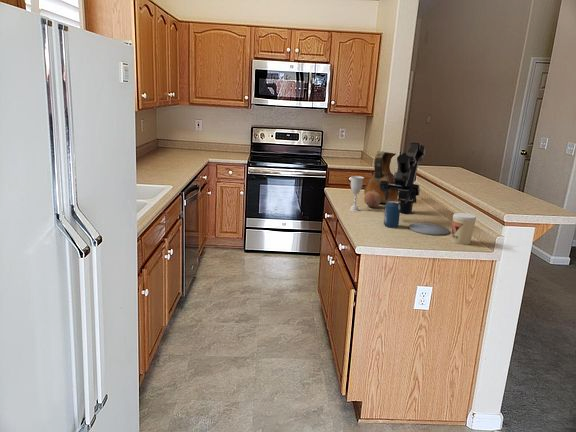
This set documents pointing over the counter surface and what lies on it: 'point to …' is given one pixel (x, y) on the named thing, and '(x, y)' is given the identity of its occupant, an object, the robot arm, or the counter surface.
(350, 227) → the counter surface
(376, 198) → the onion
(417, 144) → the robot arm
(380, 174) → the ceramic pitcher
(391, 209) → the soda can
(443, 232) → the rubber mat
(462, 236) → the coffee cup
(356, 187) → the chalice
